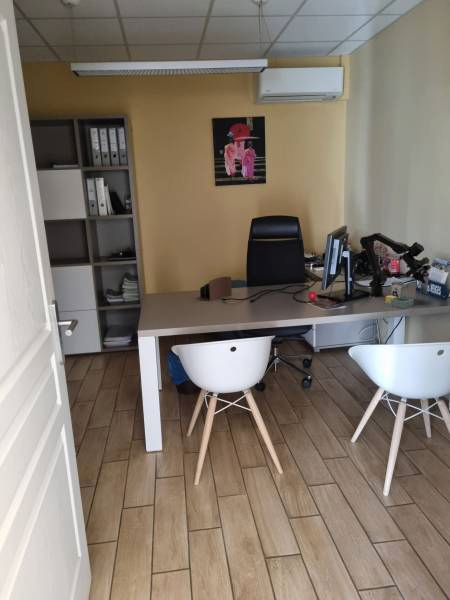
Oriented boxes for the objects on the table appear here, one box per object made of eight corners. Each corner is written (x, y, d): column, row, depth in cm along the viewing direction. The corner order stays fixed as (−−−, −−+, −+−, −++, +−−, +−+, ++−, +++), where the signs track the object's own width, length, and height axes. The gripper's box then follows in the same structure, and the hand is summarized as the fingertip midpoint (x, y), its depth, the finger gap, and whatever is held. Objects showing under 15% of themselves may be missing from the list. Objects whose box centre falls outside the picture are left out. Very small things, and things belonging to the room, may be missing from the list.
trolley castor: (389, 301, 283) (389, 286, 280) (394, 299, 286) (395, 284, 284) (396, 302, 279) (397, 287, 276) (402, 301, 282) (403, 285, 280)
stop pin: (418, 292, 273) (419, 272, 270) (423, 292, 275) (424, 272, 272) (424, 294, 269) (426, 274, 266) (429, 293, 271) (431, 273, 268)
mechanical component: (408, 298, 288) (409, 282, 285) (391, 298, 290) (392, 282, 287) (407, 297, 290) (408, 281, 288) (390, 297, 292) (391, 281, 290)
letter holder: (232, 295, 311) (231, 275, 307) (210, 301, 298) (209, 280, 294) (221, 293, 318) (221, 273, 314) (200, 299, 305) (199, 278, 301)
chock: (385, 302, 280) (385, 296, 279) (389, 301, 282) (389, 295, 281) (392, 304, 276) (393, 297, 275) (396, 303, 278) (396, 296, 277)
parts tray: (390, 305, 273) (391, 299, 272) (399, 303, 278) (399, 296, 277) (404, 308, 266) (405, 302, 265) (413, 305, 271) (413, 299, 270)
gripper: (411, 254, 264) (428, 276, 258) (429, 251, 274) (445, 272, 269) (398, 266, 272) (414, 288, 266) (416, 262, 283) (431, 283, 277)
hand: (426, 282), depth 269 cm, fingers closed on stop pin, 4 cm apart
